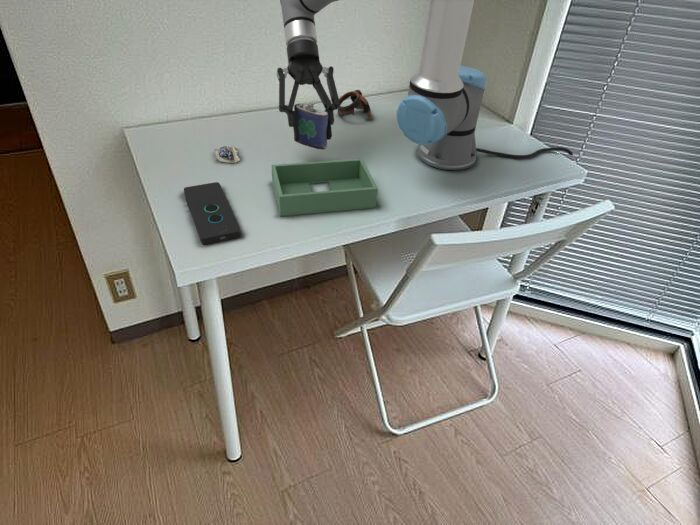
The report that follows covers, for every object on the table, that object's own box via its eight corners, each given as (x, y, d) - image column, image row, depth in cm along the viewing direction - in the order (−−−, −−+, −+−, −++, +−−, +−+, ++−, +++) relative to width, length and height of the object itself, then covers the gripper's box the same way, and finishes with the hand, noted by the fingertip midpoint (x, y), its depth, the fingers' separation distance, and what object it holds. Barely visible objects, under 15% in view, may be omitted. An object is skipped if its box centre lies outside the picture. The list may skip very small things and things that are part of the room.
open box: (360, 176, 125) (362, 158, 122) (376, 207, 115) (378, 188, 112) (272, 183, 121) (271, 164, 117) (280, 216, 111) (279, 196, 107)
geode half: (231, 146, 133) (231, 139, 132) (248, 158, 129) (248, 151, 128) (208, 153, 130) (207, 146, 129) (225, 166, 125) (224, 159, 124)
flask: (328, 146, 125) (330, 105, 118) (322, 151, 123) (323, 109, 116) (297, 136, 129) (297, 95, 122) (290, 141, 127) (290, 99, 120)
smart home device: (200, 238, 100) (182, 187, 114) (201, 245, 101) (183, 193, 115) (241, 230, 103) (219, 181, 117) (242, 237, 104) (220, 187, 118)
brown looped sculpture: (373, 125, 148) (361, 103, 143) (343, 135, 152) (331, 114, 146) (375, 99, 155) (364, 77, 150) (347, 109, 159) (335, 88, 153)
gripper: (339, 52, 129) (351, 141, 127) (259, 54, 124) (270, 146, 123) (345, 36, 121) (357, 131, 120) (260, 38, 117) (272, 135, 116)
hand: (313, 138), depth 121 cm, fingers closed on flask, 7 cm apart
